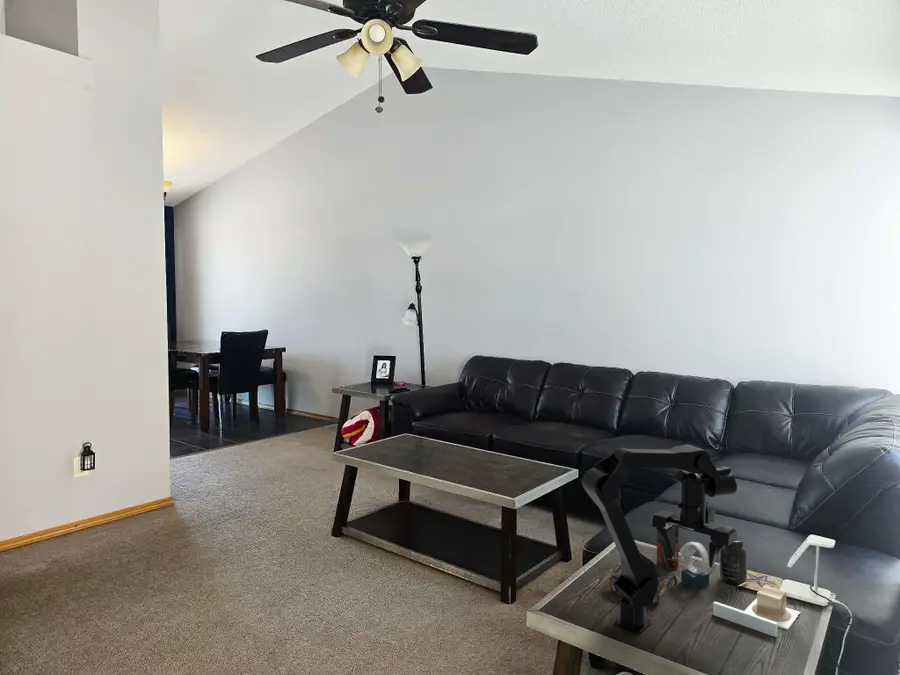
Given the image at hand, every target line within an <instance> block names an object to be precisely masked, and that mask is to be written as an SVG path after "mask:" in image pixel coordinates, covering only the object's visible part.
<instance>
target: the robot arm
mask: <svg viewBox="0 0 900 675" xmlns="http://www.w3.org/2000/svg"><path fill="white" fill-rule="evenodd" d="M634 468H637V469H639V468H643V469H644V468H645V469H646V468H647V469H648V468H652V469H657V468H658V469H659V468H660V469H678V472H676V473H675V474H674V475H673V476H672V477H671V479H672V480H674V481H675V482H677V483H680V484H679V488H680V491H679V492H680V493H679V498H680V500H679V501H678V503H677V508H679V519H677V518H676V514H677V513H676V512H674V513H672V512H673V511H669V512H668V510H663V509H661V510H659V511H657V512H656V513H654V514H653V515H651V519H650V525H651V526H652V527H654V528H655V530H656V532H657V531H659V532H660V533H661V535H662V537H663V539H664V540H665V542H666V544H667V546H668V548H669V551H670V553H671V555H672V556H673V557H674V556H675V555H676V538H675V532H676V528H677V527H679V529H680V528H681V529H683V530H688V531H692V532H696V533H699V534H703V535H706V536H710V537H709V538H710V540H711V541H709V542H708V557H709V566H708V567H709V568H710V569H713V568H714V566H715V563H716V561H717V558H718V557H719V551H720V550H721V548H723V547H725V546H729V545H730V544H732V543H733V542H734V541H735V540H737V536H738V533H737V531H736V529H735V528H734V527H733V526H728V525H724V524H717V525H716V526H715V527H711V526H709V524H711V523H714V521H715V515H716V509H715V508H711V507H709V502H708V501H707V500H706V499H707V497H706V496H708V497H710V498H713V497H724V496H732V495H734V494H735V493H736V492H737V489H738V483H737V480H736V479H735V478H736V477H735V476H734V474H733V473H732V472H731V471H732V469H731V467H728V466H725V465H724V466H723V465H722V466H719V467H715V464H714V463H713V462H712V460H711V456H710V454H709V452H708V451H706V450H704V449H702V448H699V447H696V446H693V445H691V444H682V445H675V446H673V447H671V448H668V449H654V448H653V449H650V448H649V449H647V448H624V447H618V448H616V449H615V450H614V451H613V452H611V454H609V455H608V456H606V457H604V458H602V459H601V460H599V461H597V462H596V463H595V464H594V465H593V466H592V467H591V468H589V469H587V470H586V471H585V473H583V475H582V478H581V484H582V487H583V489H584V490H585V492H586V493H587V494H588V496H589V497H590V498H591V500H592V501H593V503H594V504H595V505H596V506H597V507H598V508H599V510H600V512H601V515H602V517H603V519H604V521H605V524H606V527H607V529H608V531H609V533H610V536H611V538H612V540H613V542H614V546H615V547H616V550H617V553H618V554H619V556H620V565H619V566H620V568H621V569H620V571H621V573H620V574H619V575H618V578H617V580H616V581H615V582H614V583H613V587H614V589H615V591H616V592H615V591H614V592H615V593H617V594H618V595H619V596H620V597H619V598H620V599H619V600H620V601H619V604H620V605H619V609H620V610H619V616H618V618H616V619H615V620H614V621H613V623H614V624H615V625H616V626H620V628H621V627H622V628H624V629H627V630H629V631H631V632H634V633H636V634H641V633H642V632H643V631H645V629H646V628H648V627H649V626H650V625H651V624H652V620H650V619H648V618H646V617H647V616H646V615H647V614H646V609H647V608H646V607H649V606H650V607H651V606H652V605H653V600H654V597H655V594H656V590H657V588H658V589H659V586H660V580H659V578H660V577H661V575H660V574H659V573H658V572H657V569H656V565H655V563H654V561H653V560H652V559H650V558H648V557H647V556H646V555H644V554H643V553H642V552H640V550H639V548H638V546H637V543H636V541H635V538H634V536H633V534H632V531H631V529H630V527H629V524H628V522H627V520H626V517H625V514H624V513H623V510H622V508H621V505H620V502H621V492H620V488H621V487H623V485H624V484H625V483H626V481H627V479H628V477H629V475H630V472H631V471H632V470H633V469H634ZM610 472H612V474H609V473H610ZM675 513H676V514H675ZM706 524H707V525H708V526H707V525H706Z"/></svg>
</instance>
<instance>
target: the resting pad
mask: <svg viewBox="0 0 900 675" xmlns="http://www.w3.org/2000/svg"><path fill="white" fill-rule="evenodd" d="M744 611H745V612H748V613H751V614H754V615H757V616H759V617H762V618H765V619H768V620H771V621H774V622H777V623H778V628H781V629H783V630H787V631H789V629H790V628H791V627H792V625H793V624H794V623H795V622H796V620H797V619H798V618H799V616H800V615H801V614H802V612H801V611H798V610H795V609H792V608H789V607H786V612H785V614H784V615H783V616H782V617H781V619H780V620H778V619H775V618H772V617H769V616H766V615H763V614H760V613H757V597H756V598H755V599H754V600H753V601H752V602H751V603H750V604H749V605H748V606H747V607H746V609H745V610H744ZM800 613H801V614H800ZM799 614H800V615H799ZM798 615H799V616H798ZM797 617H798V618H797ZM796 618H797V619H796ZM794 621H795V622H794Z"/></svg>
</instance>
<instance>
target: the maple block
mask: <svg viewBox="0 0 900 675" xmlns="http://www.w3.org/2000/svg"><path fill="white" fill-rule="evenodd" d="M756 598H757V613H760V614H763V615H766V616H769V617H772V618H775V619H778V620H780V619H781V617H782V616H783V615H784V614H785V612H786V608H787V591H784V590H781V589H778V588H775V587H771V586H768V585H765V584H764V585H762V587H761V588H759V590H758V591H757V593H756Z"/></svg>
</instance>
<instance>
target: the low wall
mask: <svg viewBox="0 0 900 675" xmlns="http://www.w3.org/2000/svg"><path fill="white" fill-rule="evenodd" d="M712 607H713V608H712V615H713V616H715V617H717V618H718V617H719V618H722V619H724V620H727V621H729V622H732V623H735V624H737V625H741V626H743V627H746V628H749V629H752V630H755V631H757V632H760V633H762V634H766V635H768V636H771V637H775V638H777V637H778V628H779V627H778V623H777V622H774V621H771V620H768V619H765V618H762V617H759V616H757V615H754V614H751V613H748V612H745V610H742V609H739V608H735V607H734V606H731V605H727V604H723V603H721V602H718V601H713V602H712Z"/></svg>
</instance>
